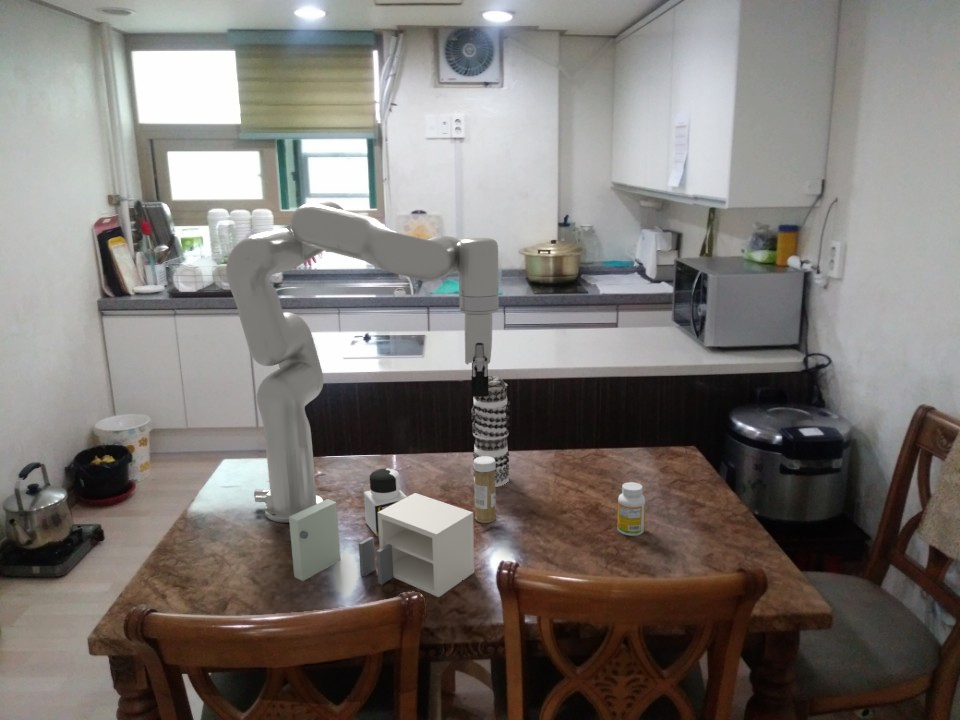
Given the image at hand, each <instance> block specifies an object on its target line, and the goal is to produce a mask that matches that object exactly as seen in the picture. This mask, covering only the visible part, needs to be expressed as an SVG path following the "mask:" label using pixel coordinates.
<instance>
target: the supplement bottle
mask: <svg viewBox="0 0 960 720" xmlns="http://www.w3.org/2000/svg"><path fill="white" fill-rule="evenodd" d="M621 486H622V487H621V492H622V493H620V494H619V495H618V499H617V519H616V520H617V526H616V527H617V531H618V532H619V533H620V534H622V535H624V536H625V535H626V536H632V537H634V536H636V537H637V536H640V535H642V534H643V533H644V532H645V522H646V521H645V519H646V498H645V496H644V495H643V488H644V487H643V485H642V484H640V483H639V482H633V481H629V482H625V483H623V484H622V485H621Z"/></svg>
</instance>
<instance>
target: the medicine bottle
mask: <svg viewBox="0 0 960 720" xmlns="http://www.w3.org/2000/svg"><path fill="white" fill-rule="evenodd" d="M400 479H401V478H400V473H399V471H397V470H395V469H392V468H380V469H376V470H375V471H372V472H371V473H370V474H369V490H365V491H364V492H363V502H364V514H365V515H364V516H365V517H364V518H365V524H367V526H368V527H369V528H370V529H371V531H372V532H373V533H374V534H375V536H376V537H379V531H378V512H379V511H381V510H383V509H385V508H387V507H389V506H391V505H393V504H395V503H397V502H398V501H400V500H402V499H404V498H406V497H408V496H407V495H406V494H405V493H404V492H403V491H402V490H401V483H400V482H401V480H400Z"/></svg>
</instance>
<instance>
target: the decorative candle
mask: <svg viewBox="0 0 960 720" xmlns="http://www.w3.org/2000/svg"><path fill="white" fill-rule="evenodd" d="M507 387H508V383H506V382H504V380H503V378H501V377H498V376H493V375H488V391H489V395H488V396H487V397H473V396H472V397H473V405H472V406H471V407H472V408H471V409H470V411H471V412H470V414H471V418H470V419H471V421H473V422H472V423H471V425H472V426H471V428H472V429H471V430H472V432H471V433H472V435H473V437H474V445H473V446H474V447H473V448H474V449H473V450H474V451H473V452H472V456H473V458H472V460H473V462H472V463H474V459H475V458H477V457H481V456H488V457H492V458H494V459H495V463H496V468H495V488H496V487H498V488H499V487H502V485H503V486H505V485H506V483H507V482H508V483H509V482H510V477H509V476H510V471H509V470H510V465H509V464H508V463H509V462H510V458H509V456H510V452H509V451H508V449H509V448H508V446H509V445H508V436H509V433H510V431H509V430H508V429H507V428H509V426H510V422H509V420H511V418H510V415H508V414H507V413H509V412H511V408H510V407H509V406H510V405H511V401H510V400H508V396H507ZM472 470H473V472H472V473H473V482H475V471H474V464H473V466H472ZM508 483H507V484H508ZM504 484H505V485H504Z"/></svg>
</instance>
